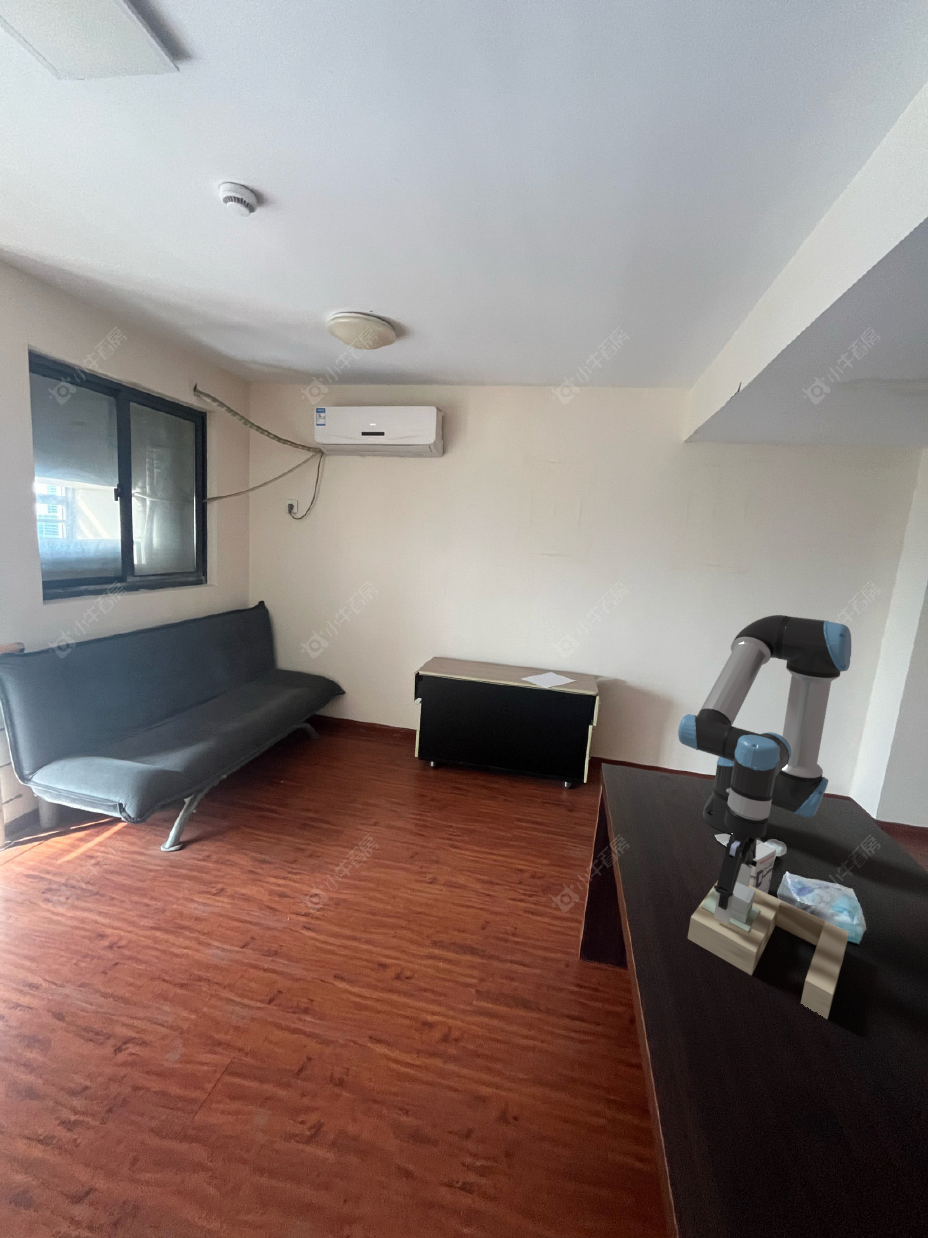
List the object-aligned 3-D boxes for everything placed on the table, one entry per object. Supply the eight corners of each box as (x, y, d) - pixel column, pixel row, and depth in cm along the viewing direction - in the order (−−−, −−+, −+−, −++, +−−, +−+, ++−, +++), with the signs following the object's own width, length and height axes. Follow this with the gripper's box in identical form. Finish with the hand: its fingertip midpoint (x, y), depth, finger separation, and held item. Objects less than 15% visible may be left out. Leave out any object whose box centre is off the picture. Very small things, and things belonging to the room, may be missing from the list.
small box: (745, 924, 101) (749, 903, 101) (715, 909, 105) (718, 888, 104) (752, 910, 106) (756, 889, 105) (723, 896, 109) (726, 876, 109)
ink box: (750, 906, 115) (758, 859, 113) (729, 893, 119) (736, 848, 117) (768, 894, 119) (777, 849, 118) (747, 881, 123) (755, 838, 122)
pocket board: (720, 892, 119) (723, 871, 118) (844, 953, 103) (849, 930, 102) (687, 938, 104) (691, 915, 103) (827, 1019, 88) (832, 993, 87)
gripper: (744, 786, 114) (729, 871, 117) (707, 824, 96) (692, 924, 100) (782, 799, 109) (765, 888, 112) (750, 842, 91) (732, 946, 95)
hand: (731, 905), depth 106 cm, fingers open, 12 cm apart
